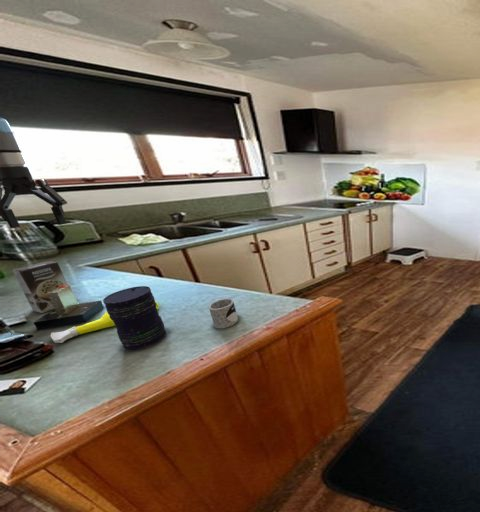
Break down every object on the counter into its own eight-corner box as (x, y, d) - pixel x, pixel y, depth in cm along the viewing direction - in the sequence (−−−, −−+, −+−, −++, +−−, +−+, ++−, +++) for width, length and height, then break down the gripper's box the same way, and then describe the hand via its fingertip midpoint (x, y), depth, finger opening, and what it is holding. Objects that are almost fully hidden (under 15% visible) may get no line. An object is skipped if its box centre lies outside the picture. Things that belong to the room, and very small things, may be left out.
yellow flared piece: (161, 309, 95) (57, 350, 76) (150, 301, 101) (51, 337, 82) (158, 302, 94) (52, 341, 75) (147, 294, 100) (46, 329, 81)
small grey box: (67, 313, 88) (56, 291, 85) (58, 315, 88) (46, 292, 85) (79, 305, 93) (68, 284, 90) (70, 307, 93) (59, 285, 90)
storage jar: (157, 346, 75) (139, 299, 70) (115, 354, 73) (92, 306, 68) (172, 326, 84) (157, 283, 79) (135, 333, 82) (116, 289, 77)
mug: (233, 326, 83) (228, 308, 81) (210, 329, 82) (204, 310, 80) (244, 310, 92) (239, 292, 90) (223, 312, 92) (218, 294, 89)
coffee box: (42, 313, 95) (19, 271, 90) (32, 310, 97) (9, 269, 92) (76, 301, 103) (57, 261, 98) (67, 298, 105) (48, 260, 100)
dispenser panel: (37, 330, 85) (32, 321, 84) (61, 314, 94) (57, 306, 93) (85, 322, 89) (81, 314, 88) (104, 307, 98) (100, 299, 97)
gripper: (64, 164, 101) (87, 220, 108) (-27, 167, 94) (4, 226, 101) (48, 165, 94) (73, 224, 101) (-51, 167, 87) (-16, 231, 95)
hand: (39, 225), depth 101 cm, fingers open, 13 cm apart
